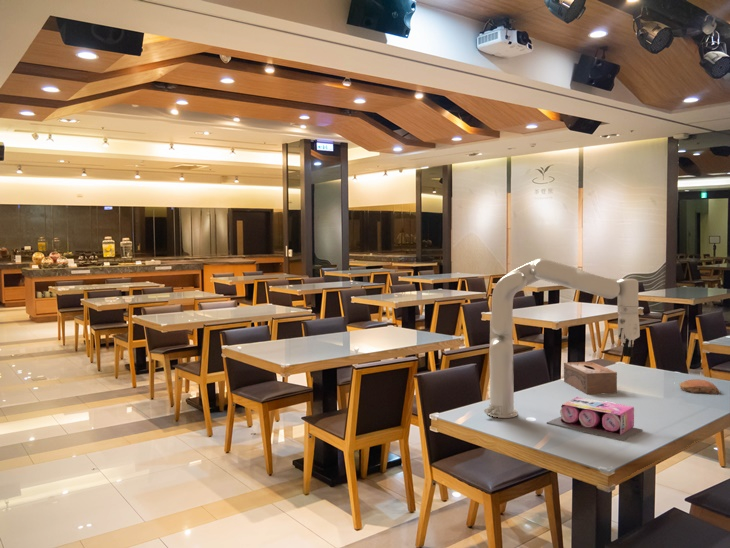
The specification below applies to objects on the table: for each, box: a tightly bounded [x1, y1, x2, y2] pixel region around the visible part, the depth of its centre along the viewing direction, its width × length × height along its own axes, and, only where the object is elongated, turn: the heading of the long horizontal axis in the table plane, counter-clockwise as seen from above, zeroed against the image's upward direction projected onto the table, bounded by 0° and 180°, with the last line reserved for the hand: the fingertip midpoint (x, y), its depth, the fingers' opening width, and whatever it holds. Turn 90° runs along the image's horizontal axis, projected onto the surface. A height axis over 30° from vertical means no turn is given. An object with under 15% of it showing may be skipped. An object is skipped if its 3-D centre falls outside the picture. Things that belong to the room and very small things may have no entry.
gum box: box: [559, 396, 635, 435], centre depth 227 cm, size 24×8×14 cm
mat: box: [546, 416, 643, 442], centre depth 226 cm, size 16×30×1 cm, turn 42°
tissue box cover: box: [563, 361, 618, 395], centre depth 288 cm, size 26×14×10 cm, turn 4°
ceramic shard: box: [679, 379, 720, 395], centre depth 278 cm, size 15×6×15 cm
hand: (628, 356), depth 234 cm, fingers closed
